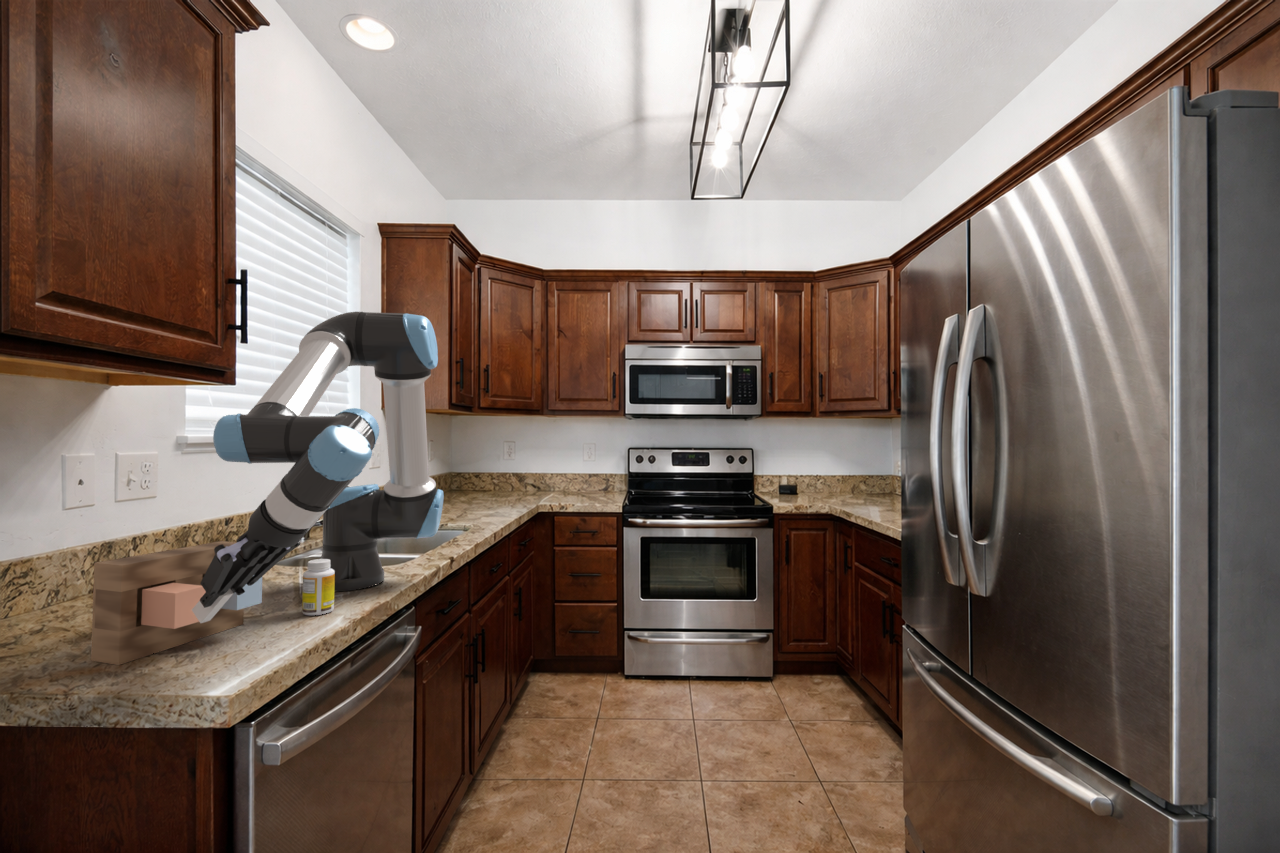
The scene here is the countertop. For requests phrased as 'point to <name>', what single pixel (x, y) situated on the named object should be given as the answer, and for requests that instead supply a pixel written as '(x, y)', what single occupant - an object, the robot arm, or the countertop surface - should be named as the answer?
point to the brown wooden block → (122, 603)
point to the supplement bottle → (318, 588)
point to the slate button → (245, 597)
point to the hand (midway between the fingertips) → (200, 615)
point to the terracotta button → (170, 605)
